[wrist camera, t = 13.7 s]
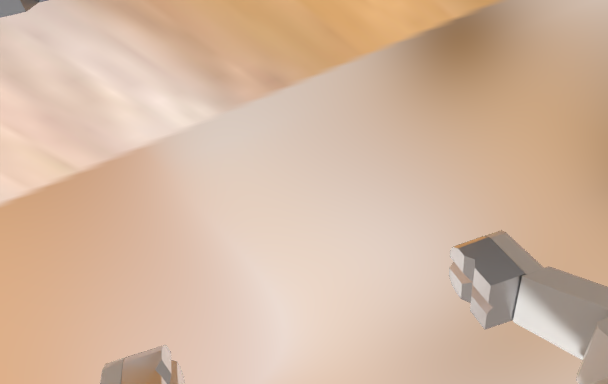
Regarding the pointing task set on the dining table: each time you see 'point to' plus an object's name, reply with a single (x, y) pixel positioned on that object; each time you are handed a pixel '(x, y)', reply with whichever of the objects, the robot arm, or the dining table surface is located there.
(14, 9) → the pusher lane
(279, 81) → the dining table surface
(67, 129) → the dining table surface
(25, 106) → the dining table surface
